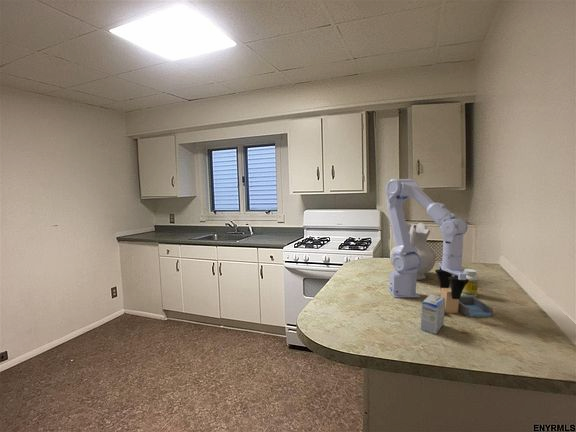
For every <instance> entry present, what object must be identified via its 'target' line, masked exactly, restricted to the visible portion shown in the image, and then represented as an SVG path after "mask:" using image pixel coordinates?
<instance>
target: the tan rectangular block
mask: <svg viewBox="0 0 576 432" xmlns="http://www.w3.org/2000/svg"><path fill="white" fill-rule="evenodd" d="M440 296H441V297H443V298H445V313H447V314H449V313H450V314H453V313H454V314H458V313H459V310H458V304H459V299H452V295H451V287H449V288H441V287H440Z"/></svg>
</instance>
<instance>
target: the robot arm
mask: <svg viewBox="0 0 576 432" xmlns="http://www.w3.org/2000/svg"><path fill="white" fill-rule="evenodd" d="M384 187H385V188H384V190H385V193H386V207H387V213H388V217H389V222H390V225H391V230H392V235H393V240H394V243H395V246H396V249H395V250H394V251H393V253H392V254H393V265H392V267H393V269H394V271H392V270H391V271H390V272H389V276H388V277H389V279H388V292H389V293H390V294H391V295H392V297H394V298H413V299H414V298H417V299H418V298H420V297H421V296H420V295H419V294H418V293H417V292H416V291H417V280H416V278H417V271H418V268H420V266H421V264H422V260H421V258H420V256H419V255H418V253H417V249H416V248H415V247H413V246H412V245H411V242H410V237H409V233H408V229H407V225H406V223H407V220H406V217H405V213H404V207H403V204H404V203H405V201H407V200H408V199H409V198H412V199H413V200H414V201H415V202H417V203H418V205H421V206H422V208H424V209H425V210H426V215H427V216H428V217H429V218H430V219H431V220H432V221H433V222H434V223H435V224H436V225H438V227H439V230H440V233H441V235H442V240H443V242H442V256H441V257H442V258H441V262H438V265H437V266H438V267H437V268H438V269H435V271H434V272H435V273H436V275H437V278H438V281H439V287H440V289H441V288H451V295H452V299H460V296H462V291H463V289H464V287H465V285H466V284H467V283H468V281H469V280H468V279H466V274H465V273H464V270H465V269H466V268H465V267H463V266H462V264H463V263H462V262H463V251H464V250H463V247H464V235H465V234H466V232H467V231H468V223H467V222H466V220H465V219H464V218H463V217H457V216H456V214H455V213H453V212H451V211H450V210H449V209H447V208H446V205H445V204H444V203H441V202H434V200H432V198H431V197H430V196H429V195H428V194H426V193H425V192H424V191H423V190H422V188H421V187H420V186H419V184H418V183H417V182H415V181H414V180H413V179H411V178H391V179H390V180H388V182H387V183H386V185H385V186H384ZM404 253H406V254H404Z"/></svg>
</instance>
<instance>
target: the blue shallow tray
mask: <svg viewBox="0 0 576 432" xmlns="http://www.w3.org/2000/svg"><path fill="white" fill-rule="evenodd" d="M439 296H440V297H441V295H439ZM458 312H461V313H462V314H463V315H464V316H466V317H467V316H468V317H471V318H472V317H473V316H476V317H477V318H478V317H482V318H485V317H486V318H487V317H488V318H491V317H492V316H493V307H492V306H490V305H488V304H487V303H485V302H483V301H482V300H480V299H479V298H477V296H476V297H474V296H464V295H461V296H460V299H459V304H458ZM445 315H446V314H445V309H444V316H445Z"/></svg>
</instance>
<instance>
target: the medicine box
mask: <svg viewBox="0 0 576 432" xmlns="http://www.w3.org/2000/svg"><path fill="white" fill-rule="evenodd" d="M440 296H441V295H434V294H429V295H427V297H426V298H425V299H423V301H422V302H421V313H420V314H421V316H420V330H421V331H424V332H427V333H430V334H434V335H436V334H437V333H438V332H439V331H440V329H441V328H442V326H443V325H444V320H445V315H444V309H445V298H443V297H440Z"/></svg>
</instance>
